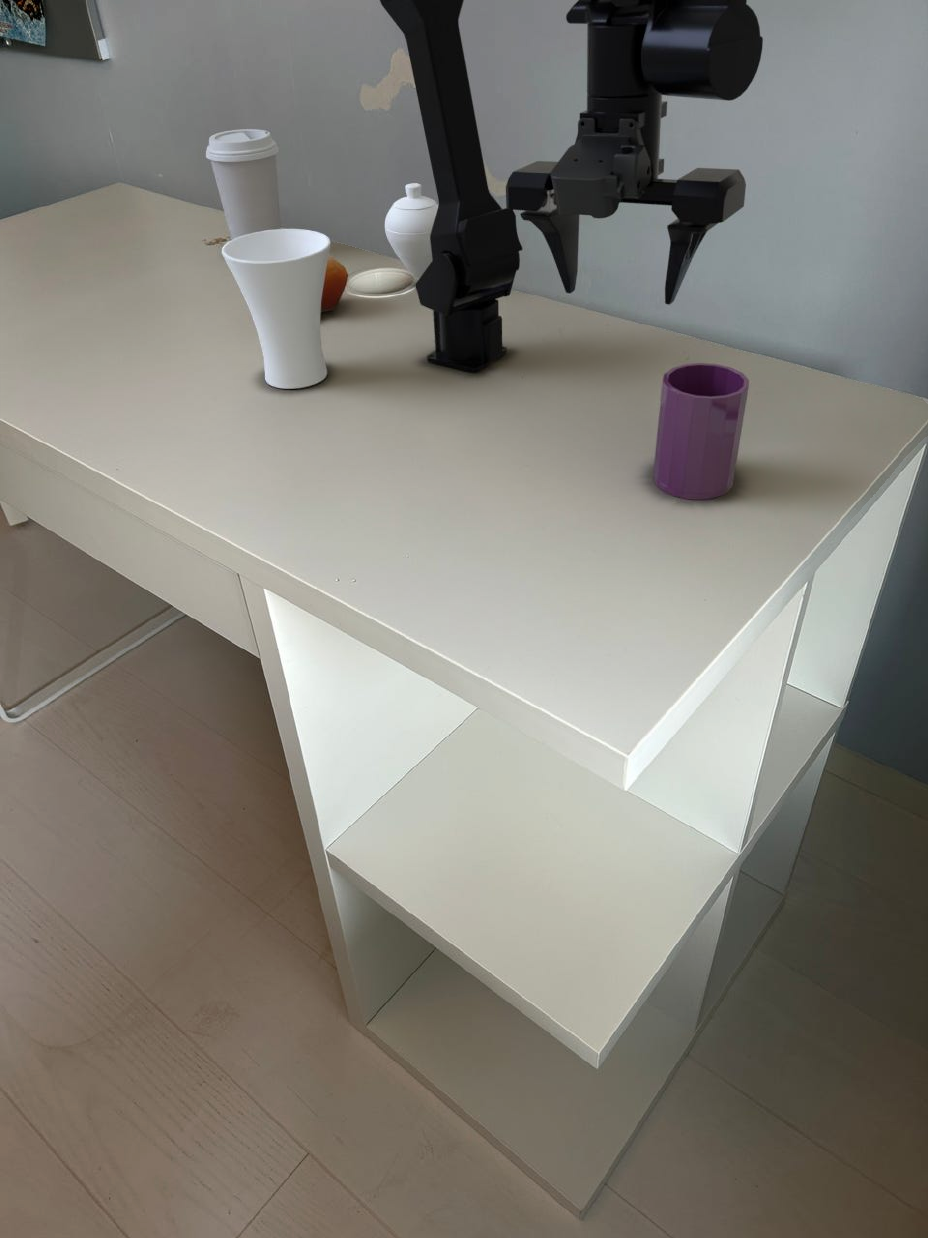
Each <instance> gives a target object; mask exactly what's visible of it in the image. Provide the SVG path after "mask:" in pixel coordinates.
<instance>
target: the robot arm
mask: <svg viewBox="0 0 928 1238" xmlns="http://www.w3.org/2000/svg"><path fill="white" fill-rule="evenodd" d="M464 1H465V0H379V2H380V5H381V6H382V8H383V9H384V10H385V11H386V13H387V14H388V15H389V17H390V18H391V19H392V21H393V22H394V23H395V24H396V26H397V27H398V28H399V30H401V32H402V33H403V34H404V38H405V42H406V47H407V53H408V56H409V57H408V58H409V62H410V67H411V72H412V77H413V81H414V86H415V91H416V92H415V93H416V96H417V101H418V106H419V112H420V116H421V121H422V126H423V131H424V136H425V141H426V146H427V151H428V155H429V160H430V166H431V170H432V175H433V180H434V185H435V191H436V194H437V195H436V196H437V200H438V209H437V213H436V216H435V220H434V224H433V227H432V231H431V234H430V242H431V251H432V260H433V261H432V262H431V263H430V265H429V266H428V268H427V269H426V270H425V272H424V273H423V274H422V276H421V277H420V279H419V280H418V279H417V281H416V283H415V288H416V292H417V293H416V294H417V296H418V301H419V304H420V306H423V307H425V308H427V309H429V310H432V315H433V331H434V332H433V333H434V347H435V350H434V351H432V352H431V353H429V354H427V356H426V361H427V362H429V363H433V364H438V365H442V366H445V367H446V366H447V367H451V368H455V369H458V370H463V371H467V372H471V373H477V372H479V371H481V370H483V369H484V368H485V367H487V366H489V365H490V364H492V363H493V362H494V361H496V360H497V359H499V358H501V357H502V356H504V355H505V354H506V353H508V347H507V346H503V318H502V316H501V315H499V314H500V313H499V312H500V311H499V310H500V308H499V307H500V306H499V300H498V299H500V298H504V297H509V296H511V293H512V289H513V285H514V281H515V278H516V274H517V271H519V270H520V265H521V263H520V262H521V256H520V255H521V254H520V252H522V251H523V246H522V244H521V241H520V237H519V234H518V228H517V215H516V213H515V211H522V212H521V213H520V214H519V215H520V217H521V219H522V220H523V221H525V222H527V221H528V222H530V223H531V224H532V225H534V227H536V228H537V229H538V231H540V232H541V233H542V236H543V238H544V239H545V241H546V243H547V245H548V248H549V251H550V253H551V256H552V257H553V261H554V263H555V266H556V269H557V271H558V275H559V278H560V280H561V283H562V285H563V288H564V291H565V293H566V294H572V293H573V292H575V290H576V286H577V279H578V271H579V270H578V267H579V239H580V216H591V217H592V218H593V219H606V218H609V217H611V216H612V215H614V214H615V213H616V212H617V210H618V208H619V205H620V203H623V204H637V205H640V204H641V205H653V206H655V205H656V206H671V209H670V210H671V211H672V213H673V214H674V215H675V217H676V218H677V219H675V220H673V221H672V222H670V223H669V224H667V226H666V228H667V233H668V237H669V240H670V241H669V242H670V243H669V252H668V261H667V267H666V277H665V284H664V303H665V305H669V306H670V305H671V304H672V303H674V302H675V300H676V297H677V296H678V293H679V291H680V288H681V286H682V284H683V281H684V278H685V277H686V275H687V272H688V270H689V268H690V267H691V263H692V261H693V259H694V257H695V254H696V253H697V250H698V248H699V247H700V245H701V243H702V241H703V239H704V238H705V236H706V234H707V232H709V231H710V230H712V229H713V228H714V227H715V226H717V225H718V224H721V223H725V221H726V220H728V219H730V218H731V217H732V216H733V215H734V214H736V213H737V212H739V211H740V210H741V209H742V208H744V207H745V199H746V190H747V189H746V188H747V184H746V179H745V177H744V175H743V174H742V171H741V170H740V169H735V168H734V169H733V168H714V167H713V168H711V167H710V168H709V167H696V168H695V169H693V170H691V171H690V172H688V173H686V174H685V175H683V176H682V177H679V178H678V179H671V178H670V179H667V178H659V176H660V175H662V174H663V173H664V172H665V158H660V149H661V148H660V147H661V128H662V126H661V125H662V119H663V118H665V117H667V114H668V101H663V96H667V97H676V98H677V97H678V98H690V99H691V98H693V99H705V100H716V101H734V100H736V99H738V98H739V97H742V95H743V94H744V93H745V92H746V91H747V90H748V89H749V87H750V85H751V84H752V83H753V81H754V79H755V77H756V74H757V73H758V69H759V66H760V63H761V59H762V53H763V44H764V37H762V35H761V27H760V24H759V20H758V16H757V14H756V13H755V11H754V9H752V7H751V6H750V5H749V4H747V2H748V0H577V1H576V2H575V3H574V4H573V5H572V6H571V8H570V9H569V10H568V11H567V13H566V16H565V20H566V22H567V23H568V24H572V25H573V24H574V25H575V24H576V25H579V24H580V25H586V26H587V27H586V32H587V33H586V110H584V111H581V112H579V120H578V122H577V135H576V137H575V142H574V144H572V145H570V146H569V147H568V148H567V149H566V151H565V152H564V153H563V155H562V156H561V157H560V159H559V160H558V161H547V160H536V161H534V162H532V163H530V164H527V165H525V166H522V167H521V168H518V169H515V170H514V171H512V172H511V174H510V175H509V177H508V179H507V181H506V185H505V204H506V205H505V208H503V207H502V206H501V205H500V203H499V202H498V201H497V200H496V199H495V198H494V196H493V195H492V194H491V191H490V189H489V184H488V177H487V173H486V172H487V171H486V168H485V162H484V155H483V151H482V150H483V149H482V146H481V140H480V135H479V128H478V123H477V118H476V112H475V107H474V106H475V105H474V101H473V96H472V95H473V94H472V91H471V90H472V89H471V85H470V84H471V83H470V80H469V74H468V69H467V62H466V57H465V52H464V46H463V40H462V36H461V29H460V23H459V22H460V21H459V20H460V16H461V12H462V8H463V5H464Z"/></svg>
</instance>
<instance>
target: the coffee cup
mask: <svg viewBox="0 0 928 1238" xmlns="http://www.w3.org/2000/svg"><path fill="white" fill-rule="evenodd" d="M279 151H280V149H279V146H278V144H277V142H276V141H275V140H274V139H273V138H272V135H271V132H269V131H268V130H265V129H255V128H246V129H245V128H244V129H233V130H227V131H220V132H217V133H214V134H212V135H210V137H209V138H208V145H207V147H206V150H205V157H206V159H208V160H209V161H210V164H211V168H212V172H213V175H214V178H215V179H214V180H215V181H216V186H217V189H218V194H219V198H220V201H221V204H222V208H223V212H224V215H225V220H226V224H227V227H228V230H229V234H230V238H231V240H233V239H235V238H238V237H241V236H243V235H247V234H251V233H255V232H261V231H267V230H277V229H282V228H281V214H280V200H279V199H280V197H279V185H278V184H279V183H278V182H279V181H278V167H277V166H278V165H277V154H278V153H279Z"/></svg>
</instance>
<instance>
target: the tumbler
mask: <svg viewBox="0 0 928 1238" xmlns="http://www.w3.org/2000/svg"><path fill="white" fill-rule="evenodd" d="M749 386H750V379H749V378H748V377H747V375H745V373H743V372H741V371H739V370H738V369H735V368H733V367H730V366H726V365H722V364H718V363H709V362H708V363H706V362H697V363H696V362H695V363H685V364H681V365H677V366H674V367H672V368H670V369H668V370H667V371H666V372H665V373H664V374H663V378H662V384H661V394H660V403H659V404H660V405H659V413H658V424H657V434H656V443H655V452H654V464H653V471H652V472H653V475H652V476H653V477H652V478H653V482H654V484H655V485H656V487H657V488H658V489H660V490H661V491H662V492H664V493H665V494H667V495H670V496H673V497H676V498H679V499H680V498H681V499H685V500H692V501H693V500H695V501H697V500H699V501H701V500H709V499H715V498H718V497H721V496H723V495H725V494H726V493H728V492H729V491H730V490H731V489H732V487H733V485H734V481H735V475H736V474H735V473H736V468H737V462H738V454H739V450H740V443H741V436H742V431H743V423H744V419H745V413H746V412H745V411H746V406H747V400H748V393H749Z"/></svg>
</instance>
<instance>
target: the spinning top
mask: <svg viewBox="0 0 928 1238" xmlns="http://www.w3.org/2000/svg"><path fill="white" fill-rule="evenodd" d="M405 193H406V196H403V197H402V198H399V199H397V200H396V201H394V202H393V203H392V206H391V207H390V208H389V210H388V212H387V214H386V216H385V219H384V232H385V235H386V239H387V241H388V242H389V244H390V247H391V248H392V250H393V251H394V253H395V255H396V256H397V257H398V259H400V261H401V262H402V264H403V265H404V266H405V267H406V268H407V270H408V271H409V272H410V273H411V274H412V275H413V276H414V277H415V278H416V279H417V281H418V280H419V279H420V277H421V276H422V274H423V273H424V272H425V270H426V269H427V268H428V266H429V265H430V263H431V262H432V261H433V260H432V251H431V242H430V234H431V231H432V227H433V224H434V220H435V216H436V213H437V209H438V206H439V204H438V203H437V202H436V201H435V200H434V199H433V198H430V197H428V196H424V195H422V184H420V183H416V182H413V183H408V184H407V183H406V185H405Z"/></svg>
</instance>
